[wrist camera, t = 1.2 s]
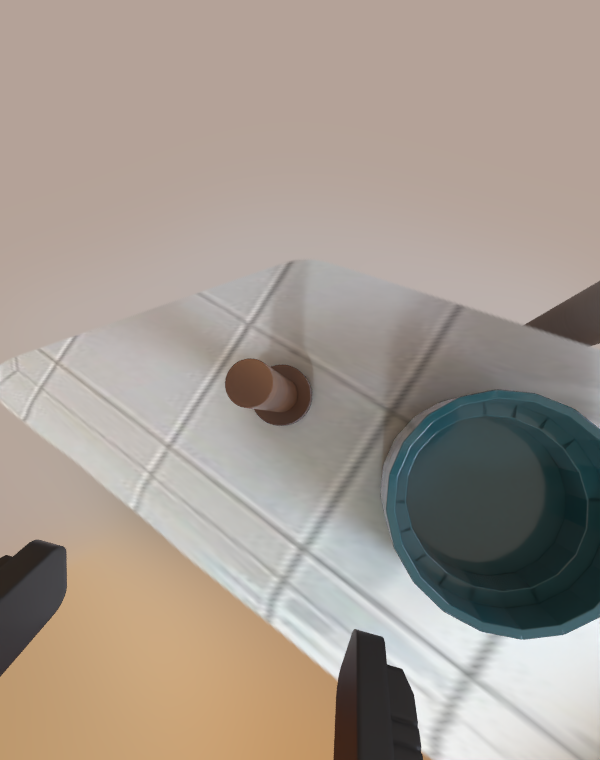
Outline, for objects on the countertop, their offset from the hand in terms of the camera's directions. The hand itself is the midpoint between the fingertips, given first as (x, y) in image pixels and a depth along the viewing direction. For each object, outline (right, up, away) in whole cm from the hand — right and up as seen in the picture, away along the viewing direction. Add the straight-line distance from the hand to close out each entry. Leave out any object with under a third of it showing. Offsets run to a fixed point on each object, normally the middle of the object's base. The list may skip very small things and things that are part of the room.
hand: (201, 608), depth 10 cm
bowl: (+17, -3, +20) cm, 26 cm away
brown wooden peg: (+1, +5, +23) cm, 23 cm away
